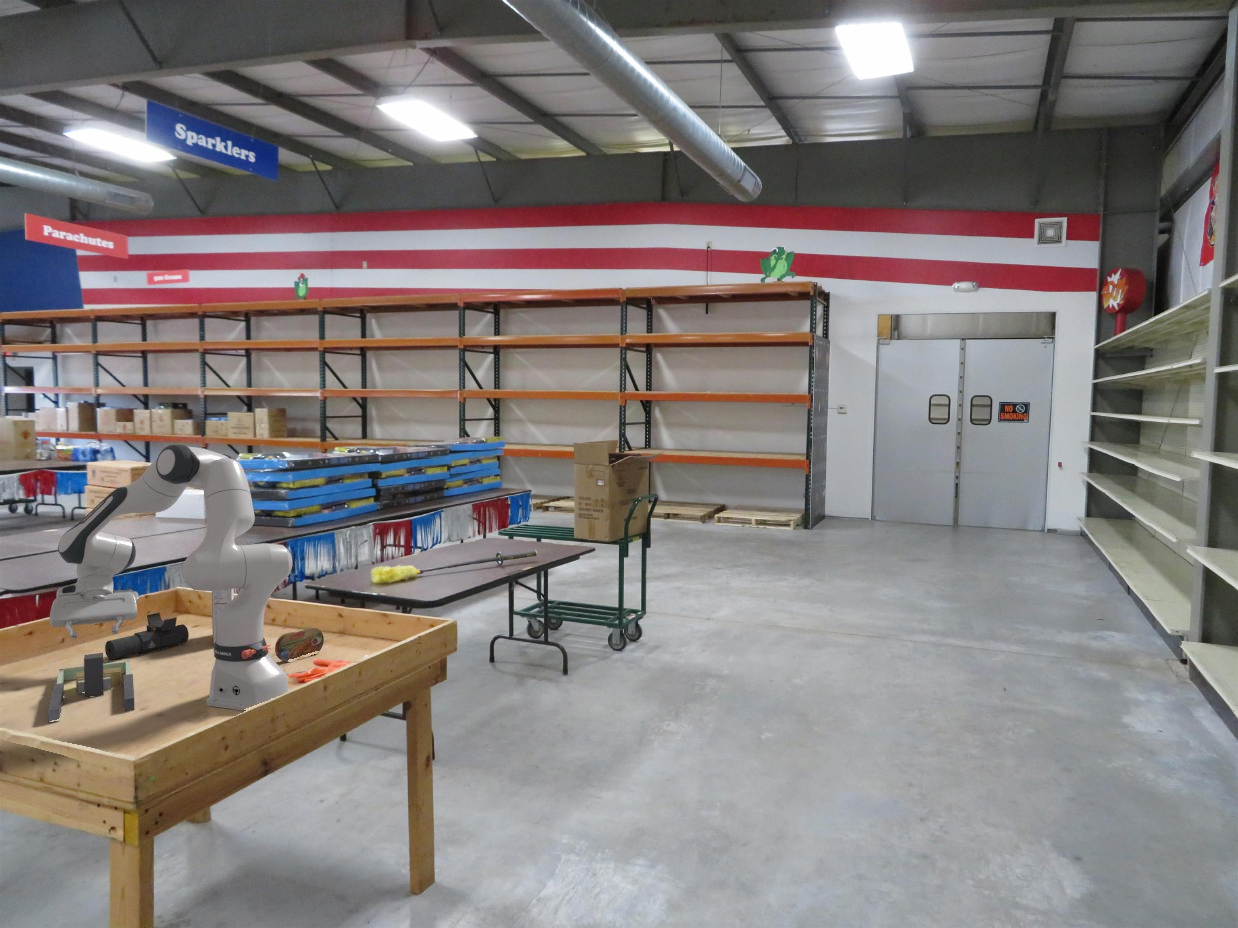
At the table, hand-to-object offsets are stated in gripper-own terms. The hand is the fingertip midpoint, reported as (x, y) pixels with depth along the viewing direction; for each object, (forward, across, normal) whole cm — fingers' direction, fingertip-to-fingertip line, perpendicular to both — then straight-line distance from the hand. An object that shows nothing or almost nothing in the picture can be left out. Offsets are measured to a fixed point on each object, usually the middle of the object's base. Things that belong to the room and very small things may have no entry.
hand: (94, 635), depth 215 cm
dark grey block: (+19, 0, +4) cm, 20 cm away
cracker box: (-7, -34, -23) cm, 42 cm away
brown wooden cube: (+15, -4, -1) cm, 16 cm away
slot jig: (+24, 0, +8) cm, 26 cm away
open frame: (+13, 0, -3) cm, 13 cm away
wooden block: (+15, +2, -1) cm, 15 cm away
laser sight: (-5, -13, -21) cm, 26 cm away
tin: (+14, -51, -2) cm, 53 cm away
